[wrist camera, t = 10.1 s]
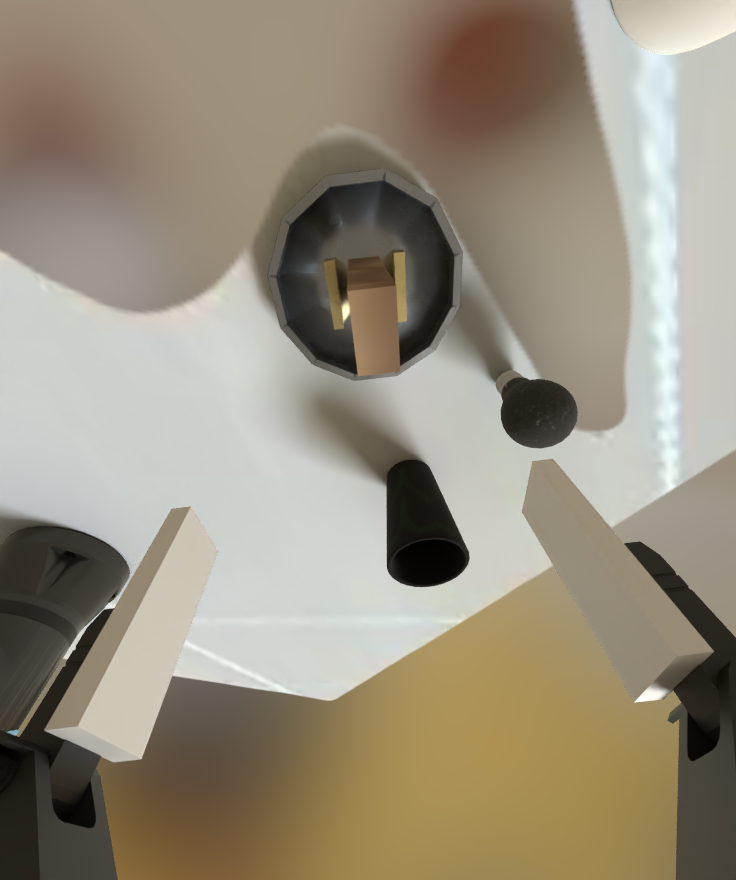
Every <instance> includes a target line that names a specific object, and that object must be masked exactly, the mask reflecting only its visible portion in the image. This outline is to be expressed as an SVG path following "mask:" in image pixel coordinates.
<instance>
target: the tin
mask: <svg viewBox="0 0 736 880" xmlns="http://www.w3.org/2000/svg"><path fill="white" fill-rule="evenodd" d="M372 256H379V257H380V259H381V261H382V262H383V264H384V266H385V267H386V269H387V271H388V272H389V274H390V276H391V277H392V279H393V281H394V282H395V284H396V289H397V311H398V332H399V354H400V372H392V373H383V374H374V375H365V376H358V372H357V364H356V356H355V348H354V340H353V332H352V324H351V316H350V308H349V301H348V293H347V284H348V259H355V258H364V257H372ZM462 259H463V251H462V249H461V247H460V245H459V243H458V241H457V239H456V237H455V234H454V232H453V230H452V228H451V226H450V224H449V222H448V220H447V218H446V216H445V214H444V212H443V209H442V207H441V205H440V203H439V201H438V199H437V198H435V197H434V196H432V195H430V194H429V193H427V192H425V191H423V190H422V189H420V188H418V187H417V186H415V185H413V184H412V183H410V182H408V181H407V180H405V179H403V178H402V177H400V176H398V175H397V174H395V173H393V172H392V171H390V170H388V169H385V168H382V169H375V170H367V171H359V172H351V173H343V174H335V175H327V177H326V176H325V177H324V178H323V179H322V180H321V181H320V182H319V183H318V184H317V185H316V186H315V187H314V188H313V189H312V190H311V191H309V192H308V193H307V194H306V195H305V196H304V197H303V198H302V199H301V200H300V201H299V202H298V203H297V204H296V205H295V206H294V207H293V208H292V209H291V210H290V211H289V212H288V213H287V214H286V215H285V216H284V217H282V220H281V224H280V228H279V232H278V236H277V240H276V244H275V248H274V251H273V255H272V259H271V263H270V267H269V271H268V280H269V284H270V288H271V292H272V296H273V300H274V304H275V308H276V312H277V316H278V320H279V324H280V328H281V329H282V330H283V331H284V333H285V334H286V335H287V336H288V337H289V338H290V339H291V341H292V342H293V343H294V344H295V345H296V346H297V347H298V349H299V350H300V351H301V352H302V353H303V354H304V355H305V356H306V358H307V359H308V360H309V361H310V362H311V363H312V364H313V365H315V366H317V367H320V368H323V369H325V370H328V371H330V372H333V373H335V374H338V375H341V376H343V377H346V378H348V379H351V380H353V381H356V380H365V379H374V378H383V377H392V376H398V375H399V374H401V373H402V372H404V371H405V370H407V369H408V368H410V367H411V366H413V365H414V364H416V363H417V362H419V361H420V360H422V359H423V358H425V357H426V356H428V355H429V354H431V353H432V352H434V350H436V348H437V346H438V344H439V343H440V341H441V339H442V337H443V336H444V334H445V332H446V330H447V329H448V327H449V325H450V323H451V322H452V320H453V318H454V316H455V315H456V313H457V311H458V309H459V308H460V295H461V277H462Z"/></svg>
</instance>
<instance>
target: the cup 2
mask: <svg viewBox="0 0 736 880" xmlns="http://www.w3.org/2000/svg"><path fill="white" fill-rule="evenodd" d="M611 1H612V5H613V9H614V13H615V16H616V18H617V19H618V21H619V23H620V25H621V27H622V29H623V30H624V32H625V34H626V35H627V36H628V37H629V38H630V39H631V40H632V41H633V42H634V43H635V44H636V45H637V46H638V47H640V48H643V49H645V50H647V51H650V52H652V53H654V54H670V55H674V54H678V53H682V52H686V51H690V50H694V49H697V48H699V47H702V46H704V45H707V44H709V43H711V42H713V41H715V40H718V39H720V38H722V37H724V36H726V35H729V34H731V33H733V32H735V31H736V0H611Z"/></svg>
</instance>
